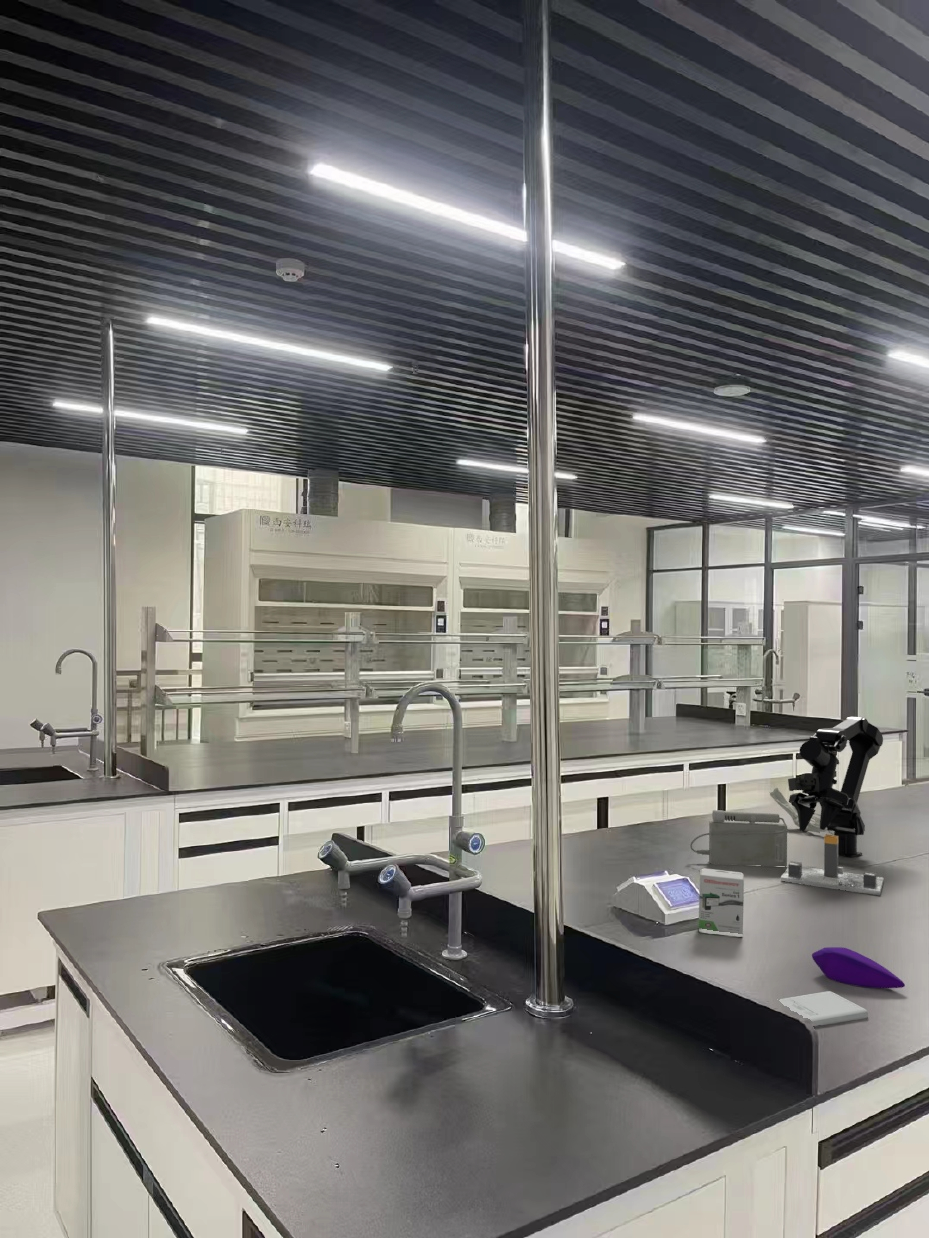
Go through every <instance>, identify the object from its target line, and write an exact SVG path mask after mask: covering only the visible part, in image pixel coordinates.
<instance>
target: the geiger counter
mask: <svg viewBox="0 0 929 1238" xmlns="http://www.w3.org/2000/svg"><path fill="white" fill-rule="evenodd" d="M711 817H712V820H709V825H708V826H709V829H708V831H709V832H708V833H702V834H701V835H698V836H696V837H695V838H694V839H693V840H692V841H691V842H690V844H689V845H690V850H691V851H692V852H694V853H697V855H702V856H703V855H706V856H707V855H708V863H709V864H710V863H711V865H719V866H721V865H722V866H723V865H724V866H725V865H726V866H741V865H761V866H760V867H764V866H787V867H788V825H787V824H786V821H785V819H784V818H783V817H780V814H779V813H768V812H767V813H766V812H764V813H763V812H762V813H761V812H741V811H740V812H737V811H725V810H723V809H722V810H721V809H720V810H719V809H718V810H717V809H714V810H712V813H711ZM780 821H782V823H780ZM704 836H705V837H706V836H708V839H709V840H708V843H709V844H708V849H697V850H696V849H694V848H693V844H694V843H695V841H697V840H698V839H700V838H701V837H704Z"/></svg>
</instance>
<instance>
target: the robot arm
mask: <svg viewBox="0 0 929 1238" xmlns="http://www.w3.org/2000/svg"><path fill="white" fill-rule="evenodd" d="M848 742H849V743H848ZM847 743H848V745H849V747H850V749H851V756H850V760H849V763H848V766H847V769H846V772H845V776H844V779H843V782H842V785H841V789H840V790H837V789H835V788H833V785H837V782H838V779H835V776H836V771H837V765H839V764H840V760H839V759H838V757H837V754H835V753H836V752H837V753H841V752H842V751H844V750H845V748H846V747H847ZM883 743H884V736H883V734H882V733H881V731H880V729H879V728H878V727H877V726H875V725H873V724H871V722H869V721H868V719H867V718H864V717H863V716H849V717H846V718H845V720H843V721H842V722H840V723H838V724H836V725H835V726H834V727H829V728H828V727H825V728H819V729H818V730H816V731H815V733H814V734H813V736H809V739H808V740H807V741H805V742H803V743H802V745H801V746H800V748H799V755H800V757H801V758H802V759H803V760H804V761H805V762H806V763H808V765H809V766H811V767H812V769H811V773H809V772H804V773H801V774H800V775H801V776H800V777H792V778H788V779H787V783H788V791H789V792H793V791H801V792H796V793H792V794H790V795H789V799H788V803H790V804H791V805H792V806H794V807H795V809H796V810H797V813H798V819H799V827H798V828H799V831H801V832H806V831H805V829H806V828H807V826H808V824H809V822H810V823H811V821H810V820H812V816H814V813H816V811H817V810H816V809H815V808H816V807H817V803H819V805H820V808H821V810H820V815H821V816H819V817H820V818H819V819H820V829H822V830H824V829H825V828H826V827H827V828H826V829H827V830H829V831H830V832H833V834H834V835H835V836H838V856H842V857H845V858H846V857H847V858H854V857H857V856H863V852H860V851H858V836H863V835H864V834H865V831H866V825H865V823H864V821H863V819H862V817H861V810H860V807H859V805H858V799H859V797H860V793H861V789H862V788H863V787H862V786H863V783H864V780H865V776H866V772H867V770H868V765H869V762H870V760H871V759H874V757H875V756H876V755H878V753H879V752H880V749H881V747H882V746H883ZM831 752H835V753H831Z"/></svg>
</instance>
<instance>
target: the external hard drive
mask: <svg viewBox="0 0 929 1238" xmlns="http://www.w3.org/2000/svg"><path fill="white" fill-rule="evenodd" d="M779 999H780V1000H779V1001H780V1002H781V1003H782V1004H783V1005H784V1006H787V1007H789V1008H790V1010H791V1011H794V1012H797V1013H798V1014H799V1015H802V1016H803V1018H808V1019H810V1020H811V1021H812V1022H813V1023H814V1024H816V1025H821V1026H826V1025H831V1024H832V1025H833V1024H838V1023H843V1022H851V1021H856V1020H861V1019H862V1020H863V1019H867V1018H868V1017H869V1012H868V1010H867V1009H866V1008H864V1007H862V1006H860V1005H858V1004H856V1003H854V1002H852V1001H851V1000H848V999H846V998H845V997H843V996H841V995H839V994H837V993H834V992H833V991H831V990H827V991H821V992H815V993H809V994H804V995H802V994H801V995H798V996H791V997H784V998H779Z"/></svg>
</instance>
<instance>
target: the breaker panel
mask: <svg viewBox="0 0 929 1238" xmlns="http://www.w3.org/2000/svg"><path fill="white" fill-rule="evenodd" d="M877 874H878V873H877V872H875V871H868V870H865V871H863V874H861V873H860V874H858V873H851V872H844V867H843V866H838V877H831V876H824V869H821V868H815V867H807V866H803V863H802V862H798V861H790V862H789V863H787V867H786V868H785V871H784V872H783V873H782V874H781V876H780V882H782V881H785V882H784V883H789V882H792V883H791V884H796V883H801V884H800V885H803V884H805V885H804V886H810V885H811V887H817V888H825V889H832V890H838V889H840V890H839V891H845V890H846V891H847V892H852V893H860V894H866V895H874V896H879V897H880V896H881V892H882V889H883V885H884V879H885V878H884V877H881V876H878V875H877Z"/></svg>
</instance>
